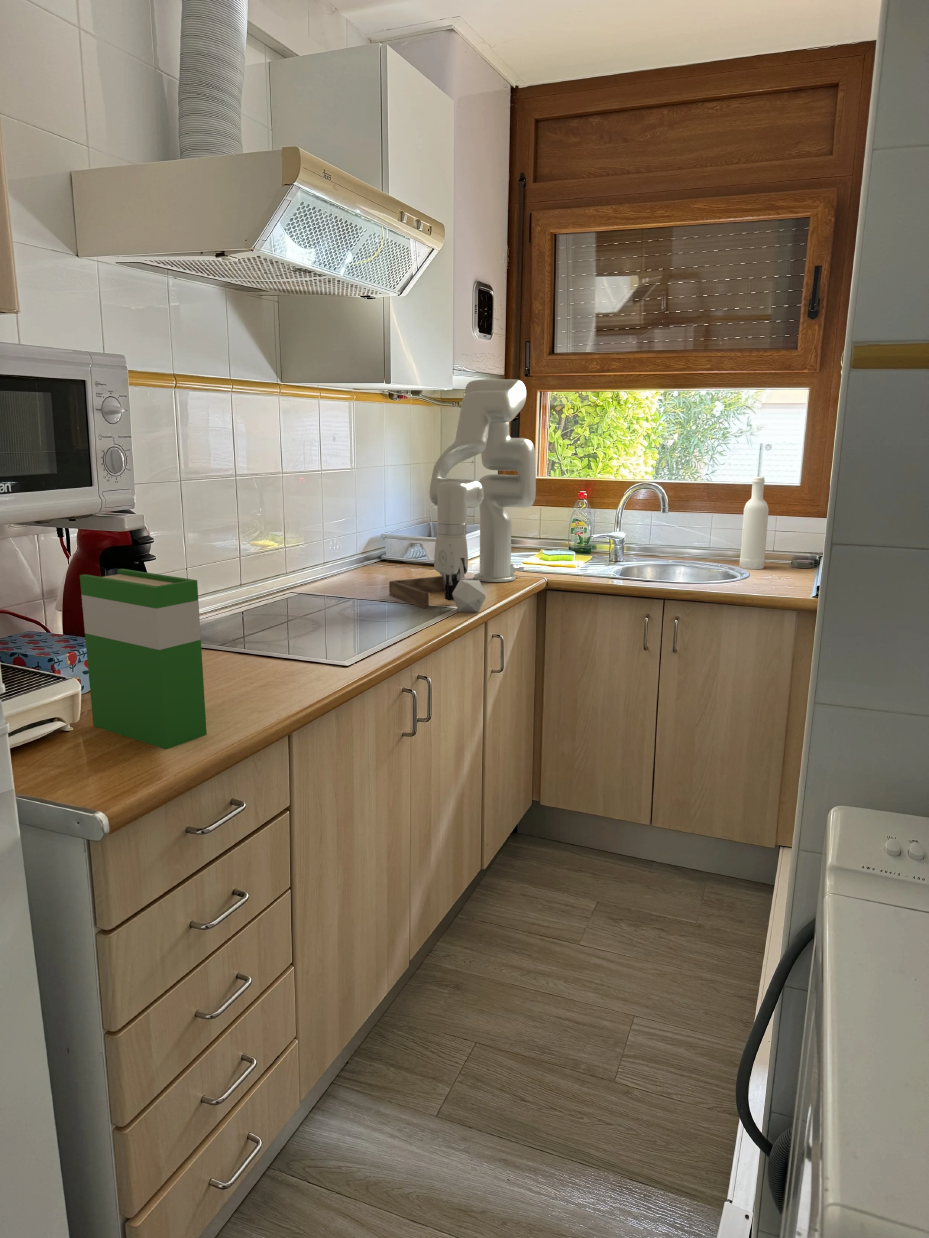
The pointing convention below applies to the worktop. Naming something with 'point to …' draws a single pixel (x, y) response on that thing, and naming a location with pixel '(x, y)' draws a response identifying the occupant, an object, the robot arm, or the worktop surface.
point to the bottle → (754, 528)
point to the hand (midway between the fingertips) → (451, 599)
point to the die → (469, 596)
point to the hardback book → (145, 656)
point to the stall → (416, 589)
